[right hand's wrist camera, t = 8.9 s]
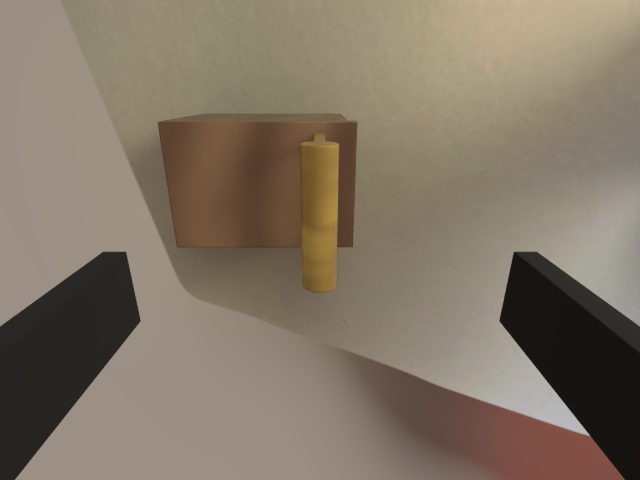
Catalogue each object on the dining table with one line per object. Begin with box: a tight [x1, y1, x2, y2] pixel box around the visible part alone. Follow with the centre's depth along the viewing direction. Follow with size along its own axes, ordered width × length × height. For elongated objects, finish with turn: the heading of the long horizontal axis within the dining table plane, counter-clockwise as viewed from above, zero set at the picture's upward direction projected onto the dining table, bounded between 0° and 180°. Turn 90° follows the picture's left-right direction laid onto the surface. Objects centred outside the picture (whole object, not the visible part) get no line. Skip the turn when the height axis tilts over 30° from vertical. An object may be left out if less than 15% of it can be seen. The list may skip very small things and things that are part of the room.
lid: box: [158, 121, 357, 293], centre depth 23 cm, size 13×9×9 cm
